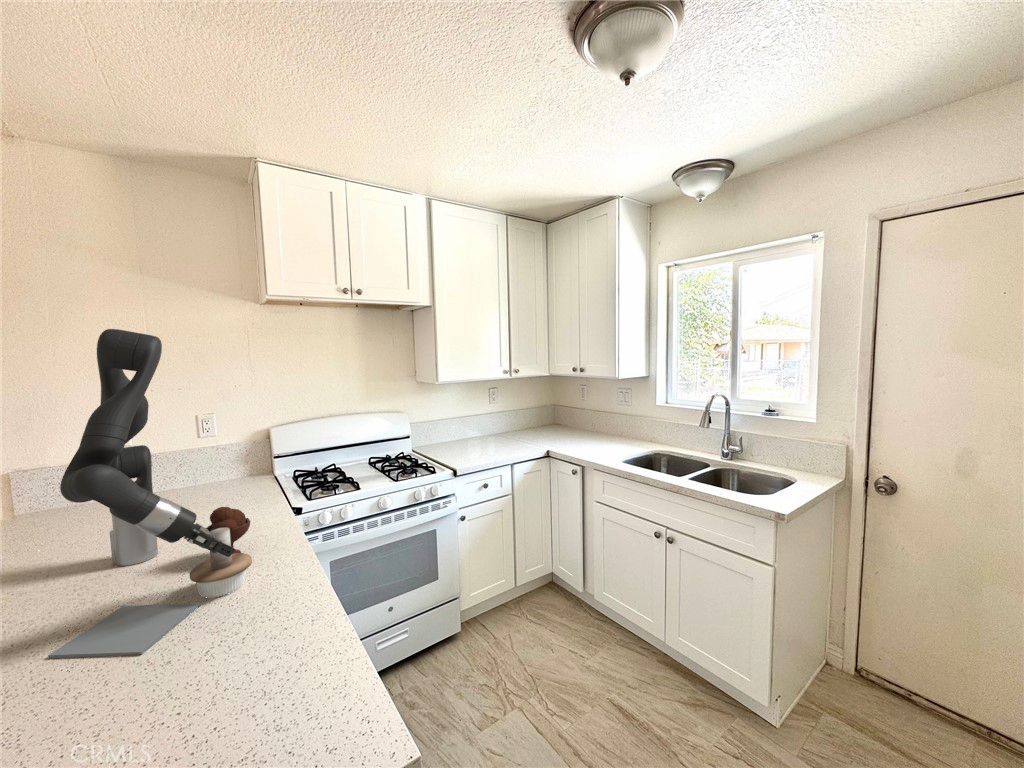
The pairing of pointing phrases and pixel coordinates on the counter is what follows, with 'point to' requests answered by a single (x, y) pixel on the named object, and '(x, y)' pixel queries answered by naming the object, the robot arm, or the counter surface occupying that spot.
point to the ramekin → (221, 586)
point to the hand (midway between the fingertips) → (226, 548)
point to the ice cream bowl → (230, 523)
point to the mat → (126, 631)
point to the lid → (220, 562)
